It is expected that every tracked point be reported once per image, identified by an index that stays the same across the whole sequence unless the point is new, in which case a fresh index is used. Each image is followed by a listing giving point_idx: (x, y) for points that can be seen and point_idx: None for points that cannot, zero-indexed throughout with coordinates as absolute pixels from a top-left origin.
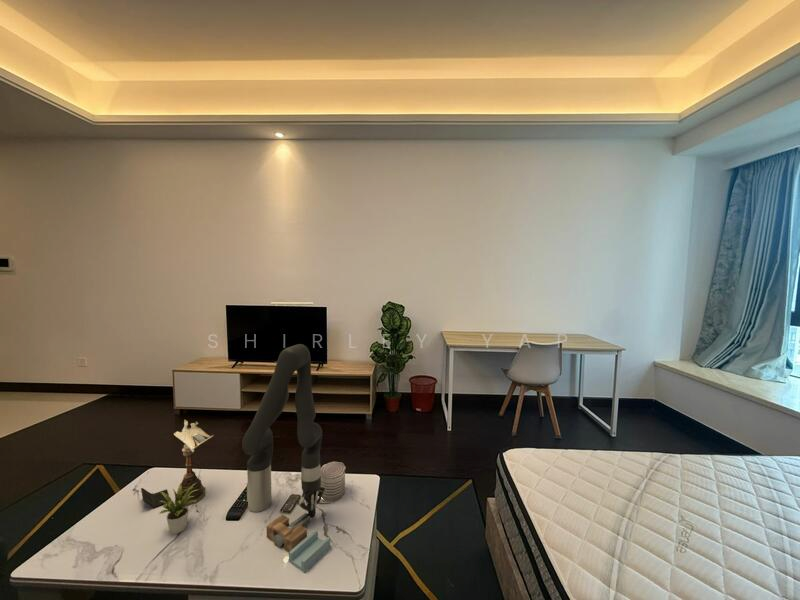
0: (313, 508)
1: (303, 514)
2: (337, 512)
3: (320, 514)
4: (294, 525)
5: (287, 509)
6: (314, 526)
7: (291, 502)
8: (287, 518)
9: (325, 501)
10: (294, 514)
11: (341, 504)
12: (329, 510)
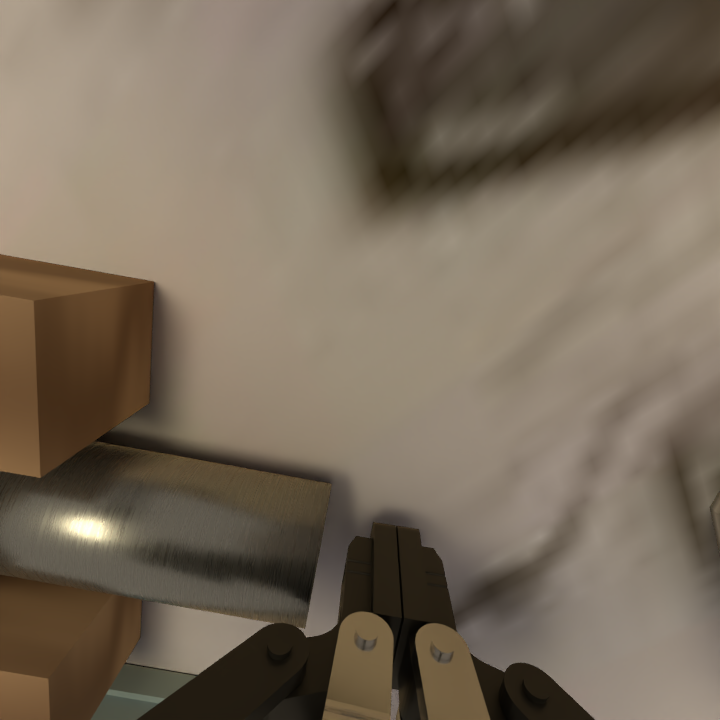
0: (395, 679)
1: (270, 566)
2: (574, 689)
3: (490, 563)
4: (48, 582)
5: (422, 109)
6: (315, 599)
7: (584, 43)
8: (22, 458)
9: (717, 508)
10: (376, 286)
11: (707, 671)
12: (579, 612)
